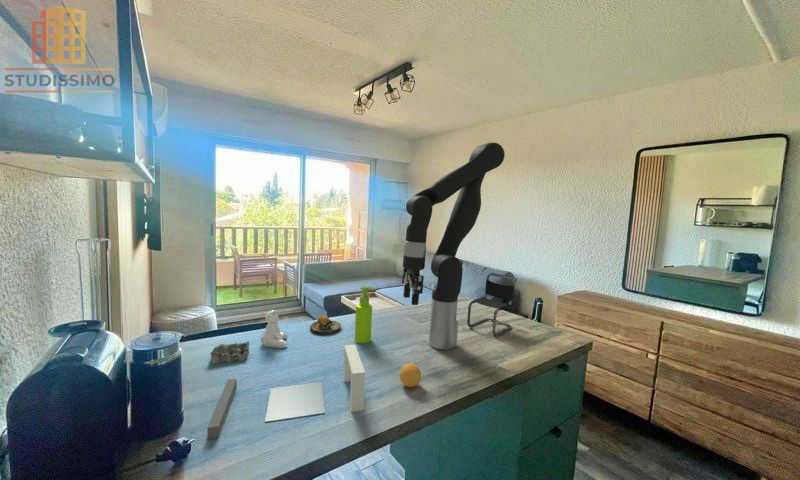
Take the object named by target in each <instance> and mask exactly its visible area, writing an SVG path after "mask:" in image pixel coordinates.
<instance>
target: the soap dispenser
mask: <svg viewBox="0 0 800 480" xmlns="http://www.w3.org/2000/svg"><path fill="white" fill-rule="evenodd" d="M376 289H377V288H375V287H372V286H361V287H360V290H361V295H359V303H357V304H356V305H355V323H354V325H355V326H354V341H355V343H357V344H364V345H365V344H368V343H370V342H371V340H372V325H373V324H372V323H373V319H372V317H373V305H372V304H371V303H370V295H368V291H372V292H375V291H376Z"/></svg>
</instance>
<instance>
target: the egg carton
mask: <svg viewBox="0 0 800 480" xmlns="http://www.w3.org/2000/svg"><path fill="white" fill-rule="evenodd" d="M230 352H232V353H230ZM242 352H243V353H242ZM229 353H230V354H231V355H230V354H229ZM241 353H242V354H241ZM249 353H250V341H249V340H248V341H245V342H242V343H241V342H240V343H238V342H236V343H230V344H224V343H222V344H221V343H220V344H218V345H217V346H214V348H213V350H212V351H210V363H211V362H214V363H213V364H215V363H218V364H219V362H220V363H222V362H226V361H227V362H226V363H231V362H234V361H239V362H241V361H244V360H246V359H247V360H248V359H249V355H248V354H249ZM221 361H222V362H221Z"/></svg>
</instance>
